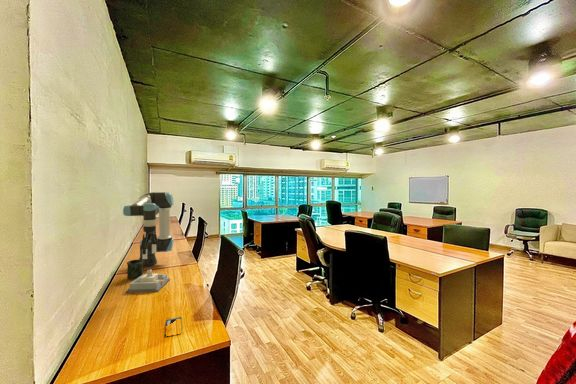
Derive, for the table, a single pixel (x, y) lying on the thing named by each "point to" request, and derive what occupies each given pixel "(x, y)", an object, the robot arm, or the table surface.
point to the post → (149, 272)
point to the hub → (150, 278)
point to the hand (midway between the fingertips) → (149, 256)
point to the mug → (134, 269)
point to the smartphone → (171, 320)
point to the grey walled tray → (148, 285)
